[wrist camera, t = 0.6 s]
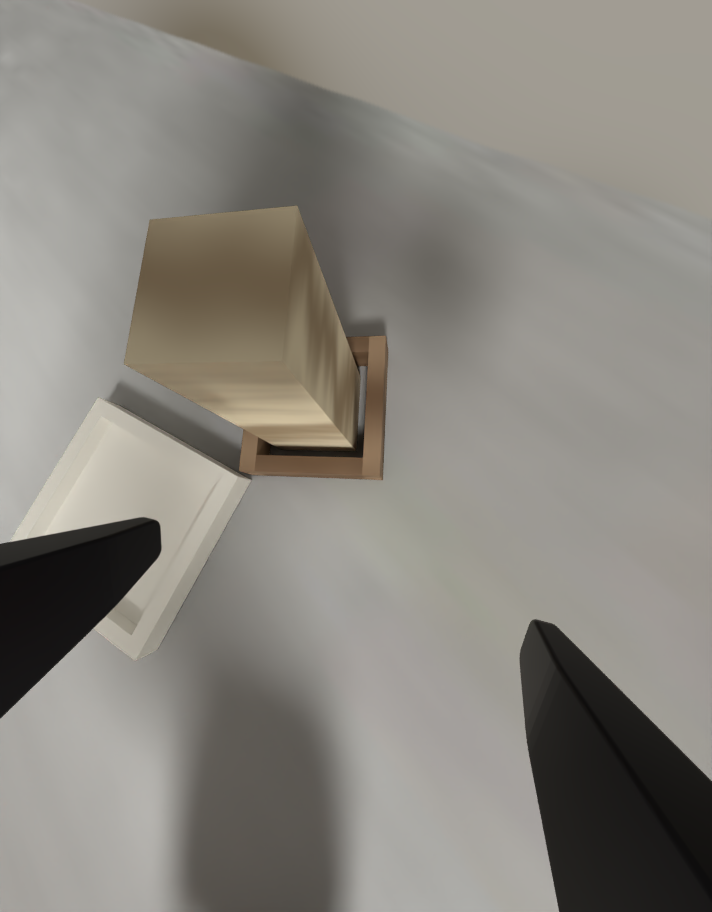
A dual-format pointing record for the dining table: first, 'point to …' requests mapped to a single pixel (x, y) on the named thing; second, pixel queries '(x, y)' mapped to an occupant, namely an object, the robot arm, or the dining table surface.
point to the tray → (139, 512)
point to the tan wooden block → (246, 327)
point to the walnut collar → (369, 467)
